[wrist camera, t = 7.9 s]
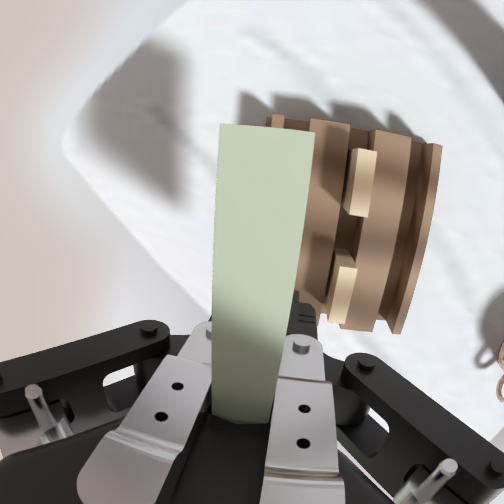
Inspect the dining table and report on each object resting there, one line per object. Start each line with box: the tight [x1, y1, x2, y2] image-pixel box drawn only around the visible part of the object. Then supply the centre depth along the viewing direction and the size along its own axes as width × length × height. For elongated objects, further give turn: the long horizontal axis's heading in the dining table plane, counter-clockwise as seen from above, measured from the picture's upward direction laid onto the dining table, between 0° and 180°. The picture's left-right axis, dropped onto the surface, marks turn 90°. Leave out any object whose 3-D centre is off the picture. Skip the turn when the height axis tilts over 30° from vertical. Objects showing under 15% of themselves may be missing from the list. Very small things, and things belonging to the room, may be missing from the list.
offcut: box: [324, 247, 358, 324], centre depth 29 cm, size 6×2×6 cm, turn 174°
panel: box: [211, 124, 315, 424], centre depth 13 cm, size 16×1×14 cm, turn 175°
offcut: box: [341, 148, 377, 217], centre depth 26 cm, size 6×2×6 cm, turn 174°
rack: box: [266, 114, 442, 334], centre depth 30 cm, size 20×18×4 cm
